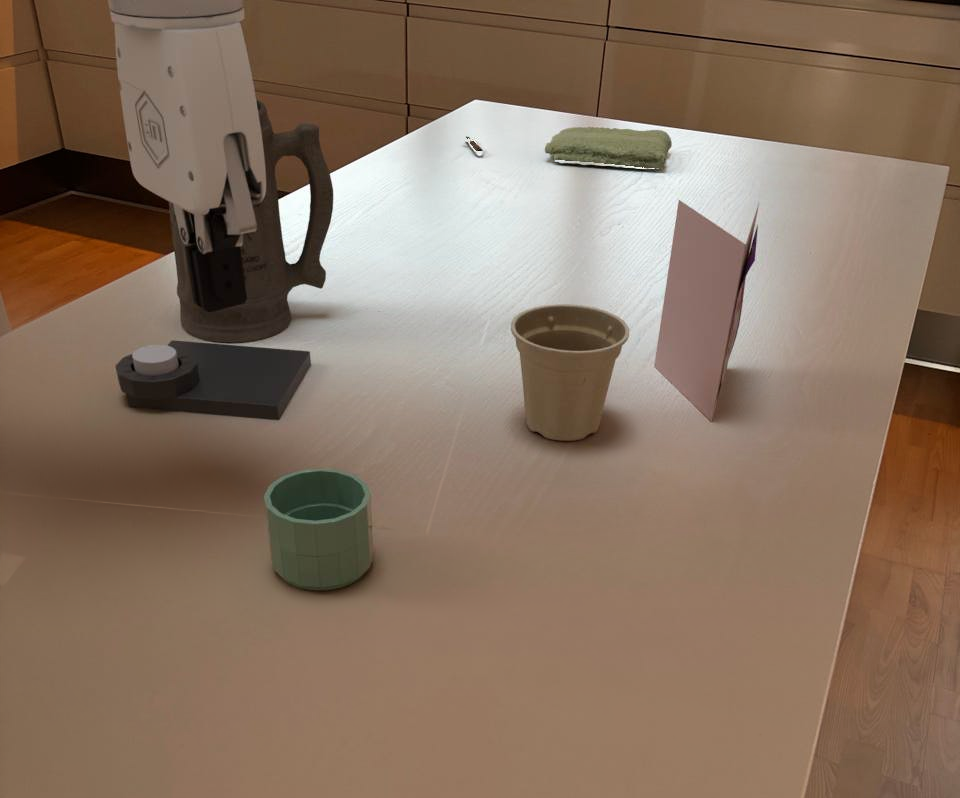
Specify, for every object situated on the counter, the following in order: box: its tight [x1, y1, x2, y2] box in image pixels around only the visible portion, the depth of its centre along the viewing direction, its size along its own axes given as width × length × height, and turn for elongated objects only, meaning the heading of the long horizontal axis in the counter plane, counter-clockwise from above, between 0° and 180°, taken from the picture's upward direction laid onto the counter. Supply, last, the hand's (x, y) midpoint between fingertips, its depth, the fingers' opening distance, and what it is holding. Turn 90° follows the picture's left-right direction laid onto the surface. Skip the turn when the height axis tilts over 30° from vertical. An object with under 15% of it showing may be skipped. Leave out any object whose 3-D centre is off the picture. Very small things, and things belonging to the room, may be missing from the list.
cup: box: [263, 467, 374, 591], centre depth 68 cm, size 7×7×6 cm
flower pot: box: [510, 303, 630, 442], centre depth 84 cm, size 9×9×9 cm
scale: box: [115, 339, 312, 421], centre depth 89 cm, size 14×12×3 cm
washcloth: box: [544, 126, 673, 169], centre depth 151 cm, size 13×18×3 cm
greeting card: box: [653, 199, 760, 422], centre depth 88 cm, size 11×7×15 cm, turn 163°
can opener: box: [465, 136, 484, 152], centre depth 153 cm, size 9×2×1 cm, turn 8°
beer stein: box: [168, 99, 334, 343], centre depth 96 cm, size 15×11×20 cm
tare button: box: [131, 344, 179, 376], centre depth 86 cm, size 4×4×1 cm
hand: (221, 303), depth 70 cm, fingers closed
